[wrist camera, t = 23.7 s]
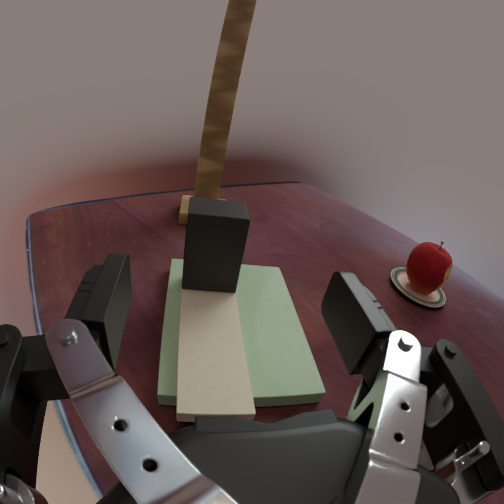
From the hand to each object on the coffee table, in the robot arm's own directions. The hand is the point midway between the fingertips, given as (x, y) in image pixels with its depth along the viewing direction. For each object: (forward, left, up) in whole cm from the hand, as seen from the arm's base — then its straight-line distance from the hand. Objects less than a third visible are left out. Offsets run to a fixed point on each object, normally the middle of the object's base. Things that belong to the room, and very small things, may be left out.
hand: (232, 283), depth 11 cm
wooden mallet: (0, +5, -8) cm, 9 cm away
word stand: (0, +26, -9) cm, 28 cm away
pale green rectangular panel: (+2, +7, -9) cm, 12 cm away
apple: (+25, +13, -9) cm, 30 cm away
